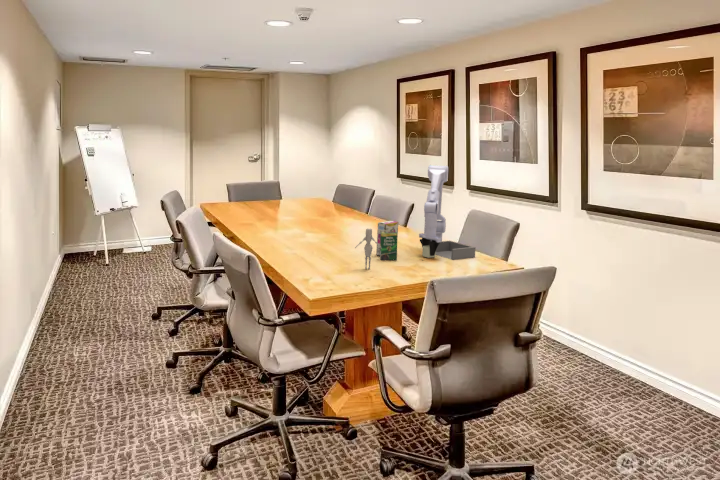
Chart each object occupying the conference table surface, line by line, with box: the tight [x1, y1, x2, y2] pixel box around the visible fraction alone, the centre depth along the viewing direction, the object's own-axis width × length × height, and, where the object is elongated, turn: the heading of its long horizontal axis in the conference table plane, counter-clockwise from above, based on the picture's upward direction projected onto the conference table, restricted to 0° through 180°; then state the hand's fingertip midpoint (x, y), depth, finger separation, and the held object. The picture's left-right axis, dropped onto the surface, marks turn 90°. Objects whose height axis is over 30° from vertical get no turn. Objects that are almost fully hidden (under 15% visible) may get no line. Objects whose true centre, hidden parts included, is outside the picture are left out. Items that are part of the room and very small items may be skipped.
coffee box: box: [379, 232, 398, 261], centre depth 263 cm, size 8×3×13 cm, turn 92°
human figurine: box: [354, 228, 381, 270], centre depth 243 cm, size 12×4×18 cm, turn 96°
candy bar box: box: [375, 220, 399, 257], centre depth 275 cm, size 11×5×16 cm, turn 141°
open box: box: [436, 240, 476, 261], centre depth 277 cm, size 19×14×6 cm
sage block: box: [422, 245, 437, 258], centre depth 270 cm, size 4×4×5 cm
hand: (428, 254), depth 270 cm, fingers closed on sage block, 4 cm apart
